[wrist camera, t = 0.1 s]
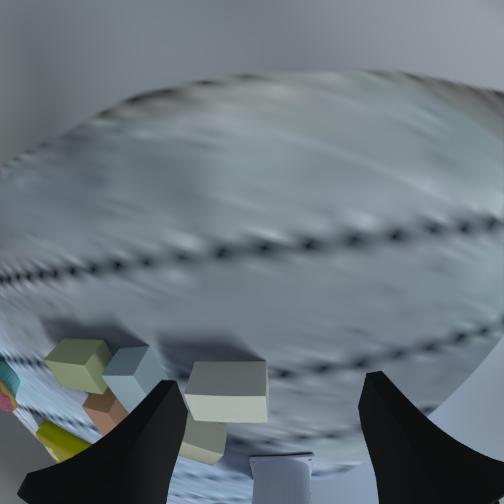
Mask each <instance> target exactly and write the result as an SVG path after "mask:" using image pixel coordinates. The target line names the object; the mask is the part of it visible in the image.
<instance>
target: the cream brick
mask: <svg viewBox="0 0 504 504" xmlns="http://www.w3.org/2000/svg"><path fill="white" fill-rule="evenodd" d="M227 430H228V426H227V425H224V424H221V423H218V422H210V421H197V420H194V418H193V416H192V414H191V413H190V412H188V417H187V423H186V429H185V434H184V437H183V441H182V444H181V447H180V450H179V454H178V455H180V456H183V457H186V458H189V459H192V460H195V461H198V462H201V463H205V464H208V465H211V466H212V465H213V464H214V463H216V462H217V461H218V460H219V459H220V458H221V457H222V456H223V455H224V450H225V443H226V437H227Z"/></svg>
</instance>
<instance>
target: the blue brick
mask: <svg viewBox="0 0 504 504" xmlns="http://www.w3.org/2000/svg"><path fill="white" fill-rule="evenodd" d="M101 376H102V378H103V379H104V381H105V382H106V384H107V385H108V386H109V388H110V389H111V391H112V392H113V393H114V395H115V396H116V397H117V399H118V400H119V401H120V403H121V404H122V405H123V406H124V408H125V409H126V410H127V411H128V413H129V414H130V413H131V411H132V410H133V409H134V408H135V407H136V406H137V405H138V404H139V403H140V402H141V401H142V400H143V399H144V398H145V397H146V396H147V395H148V394H149V393H150V392H151V390H152V389H153V388H154V387H155V386H156V385H157V384H158V383H159V382H160V381H161V380H169V379H168V377H167V375H166V374H165V372H164V370H163V368H162V367H161V365H160V363H159V362H158V360H157V358H156V356H155V354H154V353H153V351H152V349H151V347H150V346H142V347H130V348H119V349H118V351H117V352H116V354H115V355H114V357H113V358H112V360H111V361H110V363H109V364H108V366H107V367H106V369H105V370H104V371H103V373H102V375H101Z"/></svg>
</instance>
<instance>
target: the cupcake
mask: <svg viewBox="0 0 504 504" xmlns="http://www.w3.org/2000/svg"><path fill="white" fill-rule="evenodd" d="M19 384H20V381H19V379H18V377H17V375H16V374H15V372H14V371H13V370H12V368H11V367H10V366H9V365H8V364H6V363H5V362H3V361H1V362H0V409H1V410H4V411H8V412H10V411H14V410H15V409H16V408H17V402H16V400H15V398H16V393H17V390H18V387H19Z"/></svg>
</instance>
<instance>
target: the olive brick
mask: <svg viewBox="0 0 504 504" xmlns="http://www.w3.org/2000/svg"><path fill="white" fill-rule="evenodd" d="M112 358H113V356H112V354H111V352H110V350H109V348H108V346H107V344H106V342H105V340H97V339H67V338H63V339H62V340H61V341H60V343H59V344H58V345H57V346H56V347H55V348H54V349H53V350H52V351H51V352H50V354H49V355H48V356H47V357H46V358H45V359H44V361H45V363H46V364H47V366H48V368H49V369H50V371H51V372H52V374H53V376H54V377H55V379H56V380H57V382H58V383H59V385H60V386H61V387H64V388H69V389H74V390H79V391H84V392H90V393H96V394H102V395H103V393H104V392H105V390H106V388H107V387H108V385H107V384H106V382H105V381H104V379H103V378H102V376H101V375H102V373H103V371H104V370H105V369H106V367H107V366H108V364H109V363H110V361H111V360H112Z"/></svg>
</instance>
